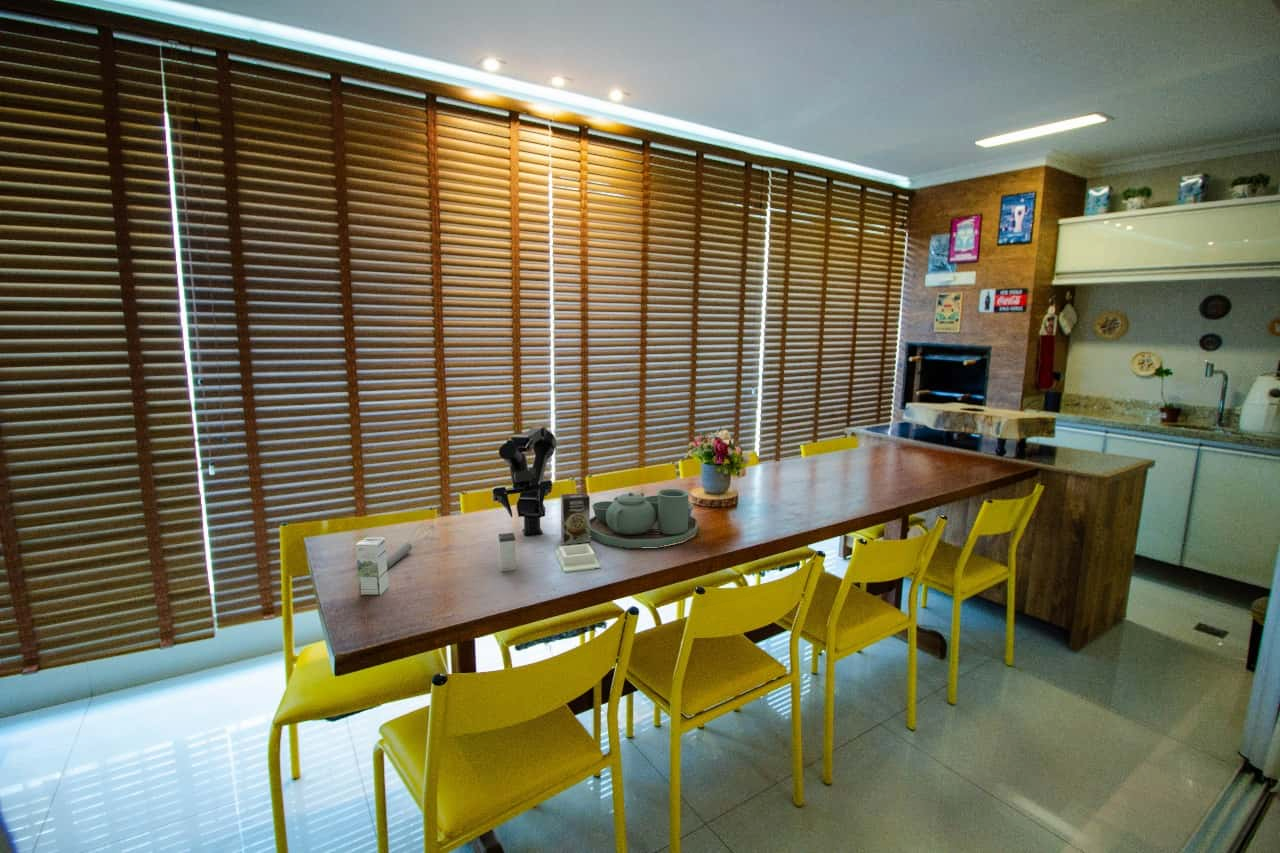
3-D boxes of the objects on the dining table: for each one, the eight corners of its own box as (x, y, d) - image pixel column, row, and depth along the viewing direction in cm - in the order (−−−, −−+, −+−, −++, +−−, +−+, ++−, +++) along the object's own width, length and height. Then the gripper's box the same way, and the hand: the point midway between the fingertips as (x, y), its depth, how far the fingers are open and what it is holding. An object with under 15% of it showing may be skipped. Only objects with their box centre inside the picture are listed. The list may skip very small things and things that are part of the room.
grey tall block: (499, 565, 172) (498, 534, 170) (514, 564, 173) (513, 532, 172) (500, 571, 168) (499, 538, 166) (516, 569, 169) (515, 537, 168)
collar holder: (554, 551, 183) (554, 542, 183) (587, 548, 187) (587, 539, 186) (564, 572, 166) (564, 562, 166) (600, 568, 170) (600, 558, 169)
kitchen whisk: (369, 573, 167) (368, 553, 166) (424, 536, 200) (423, 519, 199) (389, 574, 166) (388, 553, 165) (441, 537, 199) (440, 519, 199)
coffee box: (563, 545, 189) (562, 498, 187) (561, 539, 195) (560, 493, 193) (590, 543, 192) (589, 496, 189) (587, 537, 198) (586, 492, 196)
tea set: (697, 516, 223) (697, 475, 220) (697, 552, 183) (697, 503, 181) (597, 513, 226) (596, 473, 224) (576, 549, 187) (575, 500, 185)
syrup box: (389, 586, 157) (385, 536, 155) (380, 595, 151) (376, 543, 149) (368, 587, 157) (364, 536, 155) (358, 596, 151) (354, 544, 149)
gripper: (489, 463, 176) (496, 509, 169) (549, 455, 182) (558, 500, 175) (490, 478, 186) (496, 522, 179) (546, 470, 191) (554, 513, 185)
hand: (526, 514), depth 179 cm, fingers open, 9 cm apart
